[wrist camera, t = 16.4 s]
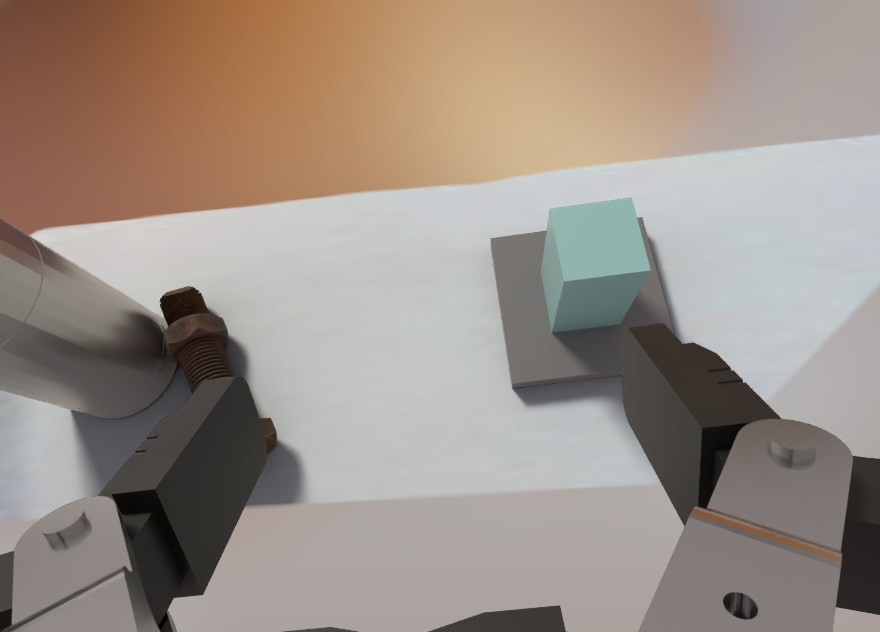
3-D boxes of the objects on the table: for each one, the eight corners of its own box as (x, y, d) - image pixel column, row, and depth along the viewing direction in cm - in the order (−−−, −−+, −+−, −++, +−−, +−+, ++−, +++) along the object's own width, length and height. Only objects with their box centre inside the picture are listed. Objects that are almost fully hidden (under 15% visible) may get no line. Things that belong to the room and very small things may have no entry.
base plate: (512, 388, 40) (513, 372, 36) (490, 247, 45) (489, 218, 41) (676, 368, 39) (696, 349, 35) (637, 226, 44) (651, 195, 40)
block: (551, 332, 40) (563, 281, 32) (540, 272, 42) (549, 208, 33) (620, 324, 40) (650, 270, 31) (606, 263, 41) (631, 197, 33)
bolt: (211, 310, 48) (273, 459, 42) (148, 323, 45) (205, 485, 39) (211, 267, 44) (280, 427, 38) (142, 279, 41) (204, 454, 35)
